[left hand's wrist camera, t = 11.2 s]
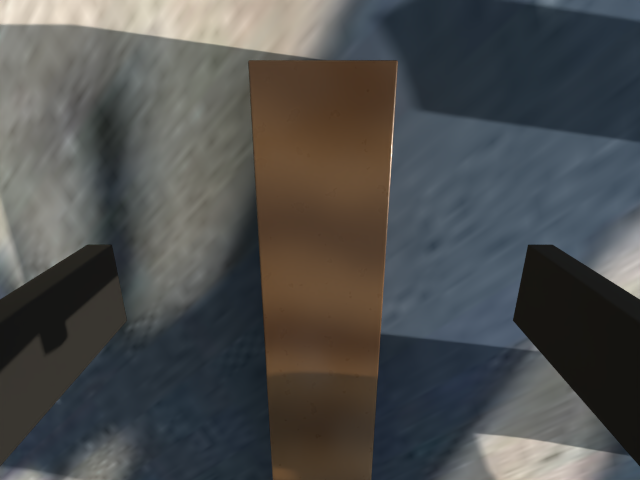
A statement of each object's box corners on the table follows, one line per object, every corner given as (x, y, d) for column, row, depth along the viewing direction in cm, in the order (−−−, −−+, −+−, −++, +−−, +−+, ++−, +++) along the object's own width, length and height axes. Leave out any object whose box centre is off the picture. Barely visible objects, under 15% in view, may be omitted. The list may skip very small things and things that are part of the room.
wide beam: (262, 67, 30) (248, 60, 24) (382, 67, 30) (398, 60, 24) (289, 648, 58) (286, 712, 52) (352, 648, 58) (356, 712, 52)
